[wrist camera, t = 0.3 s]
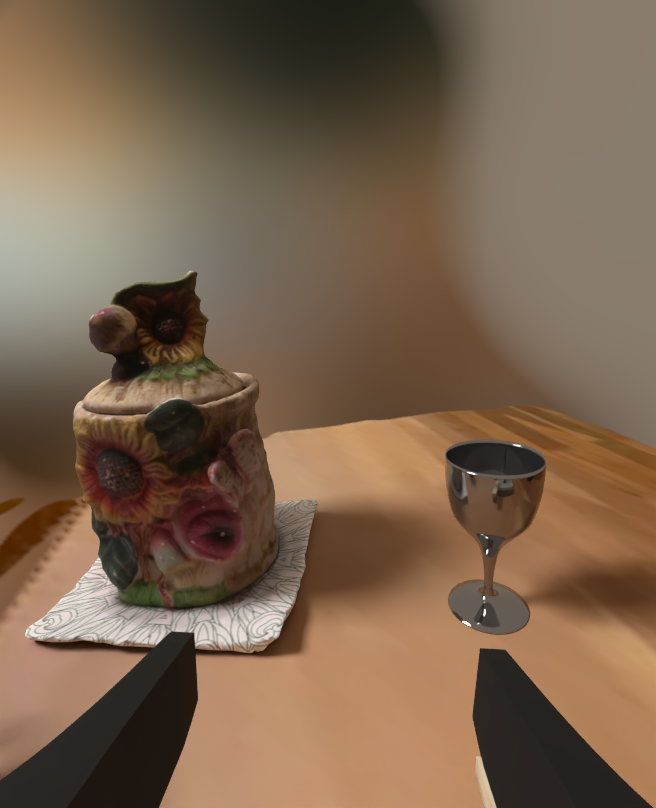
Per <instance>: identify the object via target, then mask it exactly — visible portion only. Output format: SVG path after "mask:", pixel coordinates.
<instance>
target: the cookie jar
mask: <svg viewBox="0 0 656 808" xmlns="http://www.w3.org/2000/svg"><path fill="white" fill-rule="evenodd" d="M196 277H197V272H195V271H189V272H188V273H187V274H186V275H184V276H183V277H181V278H180V279H178V280H175V281H167V282H166V281H165V282H142V283H141V282H140V283H133V284H130V285H129V286H127V287H125V288H124V289H123V290H121V291H119V292H117V293H116V294H115V295H114V296H113V298H112V300H111V305H110V306H109V307H107V308H105V309H103V310H100V311H99V312H97V313H95V314H94V315H93V316H92V317H91V318H90V320H89V328H90V332H89V337H90V340H91V342H92V344H93V345H94V346H95V347H96V349H97V350H98V351H100V352H104V353H108V354H112V355H113V356H114V357H115V358H116V363H115V364H114V366H113V368H112V378H110V379H109V380H107V381H104V382H102V383H101V384H100V385H98V386H97V387H96V388H94V389H92V390H91V391H90V392H89V393H88V394H87V395H86V397H85V398H84V400H83V401H80V402H78V404H77V405H76V407H75V410H74V419H73V429H74V433H75V436H76V442H77V460H76V465H75V467H76V471H77V474H78V477H79V481H80V483H81V485H82V487H83V488H84V498H83V500H84V501H85V502H86V503H88V504H89V505H90V506H91V509H92V528H93V530H94V532H95V533H96V534H97V535H98V537H99V539H100V546H99V552H98V555H99V559H97V560H96V561H95V563H94V564H93V565H92V566H91V569H90V570H89V571H88V572H87V573H86V574H85V575H84V576H83V577H82V578H81V579H80V580H79V581H78V583H77V584H76V586H75V587H74V589H73V590H72V591H71V592H70V593H67V594H66V595H65V596H64V597H63V598H62V599H61V600H60V601H59V602H58V603H57V604H56V605H55V606H54V607H53V608H52V609H51V610H50V611H49V612H48V613H47V614H46V616H45V617H44V618H42V619H40V620H39V621H37V622H35V623H33V624H32V625H31V626H30V627H29V628H28V629H27V630H26V633H25V637H26V638H28V639H31V640H38V641H47V642H75V641H81V640H85V641H93V642H97V643H101V642H103V643H108V644H112V645H118V646H136V647H153V648H154V647H155V646H156V645H157V644H158V643H159V642H160V641H161V640H162V639H163V638H164V637H165V636H166V635H168V634H169V633H170V632H171V631H174V632H192V633H194V635H195V649H198V650H230V651H238V652H244V653H255V652H259V651H263V650H264V649H265V648H266V647H267V646H268V644H269V643H272V642H273V641H274V640H275V639H277V638H279V635H280V631H281V628H282V626H283V624H284V622H285V620H286V619H287V617H288V616H289V614H290V612H291V610H292V608H293V606H294V603H295V601H296V598H297V591H298V589H299V587H300V580H301V578H302V575H303V573H304V570H305V568H306V565H305V561H306V560H305V553H306V551H307V546H308V539H309V535H310V529H311V525H312V522H313V518H314V515H315V511H316V508H317V506H318V502H317V501H316V500H301V501H299V502H294V501H288V502H280V503H275V491H274V485H273V481H272V478H271V475H270V471H269V467H268V462H267V456H266V451H265V449H264V445H263V440H262V437H261V435H260V433H259V429H258V424H257V416H256V413H255V403H256V401H257V400H258V396H259V383H258V380H257V379H255V378H254V377H253V376H252V375H249V374H244V373H233V372H230V371H227V370H225V369H223V368H219V367H218V366H216V365H215V364H213V363H212V362H211V361H210V360H209V359H208V358H207V357H205V355H204V350H203V344H204V338H205V333H206V324H207V322H208V319H207V317H206V316H205V315H204V314H202V312H201V311H200V301H201V300H200V299H199V298H198V296H197V295H196V294H195V286H196Z"/></svg>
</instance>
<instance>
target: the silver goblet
mask: <svg viewBox="0 0 656 808" xmlns="http://www.w3.org/2000/svg"><path fill="white" fill-rule="evenodd" d="M545 472H546V460H545V457H544V456H543V455H542V454H541V453H540V452H538V451H537V450H535V449H533V448H531V447H528V446H525V445H522V444H518V443H514V442H509V441H501V440H471V441H465V442H461V443H457V444H455V445H452V446H451V447H449V448H448V449H447V451H446V454H445V477H446V487H447V493H448V499H449V503H450V507H451V510H452V512H453V515H454V517H455V518H456V520H457V521H458V522H459V524H460V525H461V526H462V527H463V528H464V529H465V530H466V531H467V532H468V533H469V534H470V535H471V536H472V537H473V538H474V539H475V541H476V542H477V544H478V545H479V547H480V549H481V552H482V556H483V564H484V580H480V579H479V580H468V581H464V582H462V583H459V584H458V585H456V586H455V587H454V588H453V589H452V590H451V592H450V594H449V597H448V604H449V607H450V609H451V611H452V613H453V614H454V615H455V616H456V617H457V618H458V619H459V620H460V621H461V622H463V623H464V624H466V625H467V626H469V627H471V628H473V629H475V630H478V631H481V632H485V633H489V634H509V633H513V632H516V631H518V630H520V629H521V628H523V627H524V626H525V625H526V623H527V622H528V619H529V609H528V606H527V604H526V602H525V601H524V600H523V598H522V597H521V596H520V595H519V594H518V593H516V592H515V591H514V590H512V589H511V588H509V587H507V586H505V585H502V584H500V583H497V582H493V576H494V569H495V564H496V559H497V556H498V553H499V552H500V550H501V549H502V548H503V547H504V546H505V545H506V544H507V543H509V542H510V541H512V540H513V539H515V538H516V537H518V536H519V535H521V534H522V533H523V532H525V531H526V530H527V529H528V528H529V527H530V525H531V524H532V522H533V520H534V519H535V516H536V514H537V511H538V508H539V505H540V501H541V498H542V494H543V489H544V482H545Z"/></svg>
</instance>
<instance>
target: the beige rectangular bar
mask: <svg viewBox="0 0 656 808" xmlns="http://www.w3.org/2000/svg"><path fill="white" fill-rule="evenodd" d="M475 778H476V781H477V784H478V787H479V790H480V794H481V797H482V800H483V803H484V807H485V808H497V807H496V804H495V801H494V798H493V795H492V792H491V789H490V786H489V783H488V779H487V776H486V773H485V770H484V767H483V762H482V758H481V756H476V776H475Z"/></svg>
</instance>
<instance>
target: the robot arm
mask: <svg viewBox="0 0 656 808" xmlns="http://www.w3.org/2000/svg"><path fill="white" fill-rule="evenodd" d="M197 701H198V691H197V672H196V654H195V635H194V633H192V632H174V631H171V632H170V633H169V634H168V635H166V636H165V637H164V638H163V639H162V640H161V641H160V642H159V643H158V644H157V645H156V646H155V647H154V648H153V649H152V650H151V651H150V652H149V653H148V654H147V655H146V656H145V657H144V658H143V659H142V660H141V661H140V662H139V663H138V664H137V665H136V666H135V667H134V668H133V669H132V670H131V671H130V672H129V673H127V674H126V675H125V676H124V677H123V678H122V679H121V680H120V681H119V682H118V683H117V684H116V685H115V686H114V687H113V688H112V689H110V690H109V691H108V692H107V693H106V694H105V695H104V696H103V697H102V698H101V699H100V700H99V701H98V702H96V703H95V704H94V705H93V706H92V707H91V708H90V709H89V710H87V711H86V712H85V713H84V714H83V715H82V716H81V717H79V718H78V719H77V720H76V721H75V722H74V723H72V724H71V725H70V726H69V727H68V728H67V729H66V730H64V731H63V732H62V733H61V734H60V735H59V736H57V737H56V738H55V739H54V740H52V741H51V742H50V743H49V744H48V745H46V746H45V747H44V748H43V749H41V750H40V751H39V752H38V753H36V754H35V755H34V756H32V757H31V758H30V759H29V760H27V761H26V762H25V763H23V764H22V765H21V766H19V767H18V768H17V769H15V770H14V771H13V772H11V773H10V774H9V775H7V776H6V777H5V778H3V779H2V780H1V781H0V808H159V806H160V803H161V801H162V798H163V796H164V794H165V791H166V789H167V786H168V784H169V782H170V779H171V777H172V774H173V772H174V769H175V767H176V765H177V762H178V760H179V757H180V755H181V752H182V750H183V747H184V744H185V741H186V738H187V735H188V731H189V728H190V725H191V722H192V718H193V715H194V711H195V708H196V704H197ZM472 717H473V721H474V726H475V731H476V736H477V740H478V745H479V749H480V754H481V758H482V762H483V767H484V770H485V773H486V776H487V779H488V783H489V786H490V789H491V792H492V795H493V798H494V801H495V804H496V807H497V808H653V807H652V806H651V805H650V804H648V803H647V802H646V801H645V800H644V799H643V798H642V797H641V796H640V795H639V794H638V793H636V792H635V791H634V790H633V789H632V788H631V787H630V786H629V785H628V784H627V783H626V782H625V781H624V780H623V779H622V778H621V777H620V776H619V775H618V774H617V773H616V772H615V771H614V770H613V769H612V768H611V767H610V766H609V765H608V764H607V763H606V762H605V761H604V760H603V759H602V758H601V757H600V756H599V755H598V754H597V753H596V752H595V751H594V750H593V749H592V748H591V747H590V746H589V744H588V743H587V742H586V741H585V740H584V739H583V738H582V737H581V736H580V735H579V734H578V733H577V732H576V730H575V729H574V728H573V727H572V726H571V725H570V724H569V723H568V722H567V721H566V719H565V718H564V717H563V716H562V715H561V714H560V713H559V712H558V711H557V709H556V708H555V707H554V706H553V705H552V704H551V703H550V702H549V700H548V699H547V698H546V697H545V696H544V695H543V693H542V692H541V691H540V690H539V689H538V688H537V686H536V685H535V684H534V683H533V682H532V681H531V679H530V678H529V677H528V676H527V675H526V673H525V672H524V671H523V670H522V669H521V668H520V666H519V665H518V664H517V663H516V662H515V661H514V659H513V658H512V657H511V656H510V655H509V654H508V652H507V651H506V650H500V649H482V648H480V654H479V663H478V672H477V681H476V690H475V699H474V708H473V716H472Z"/></svg>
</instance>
